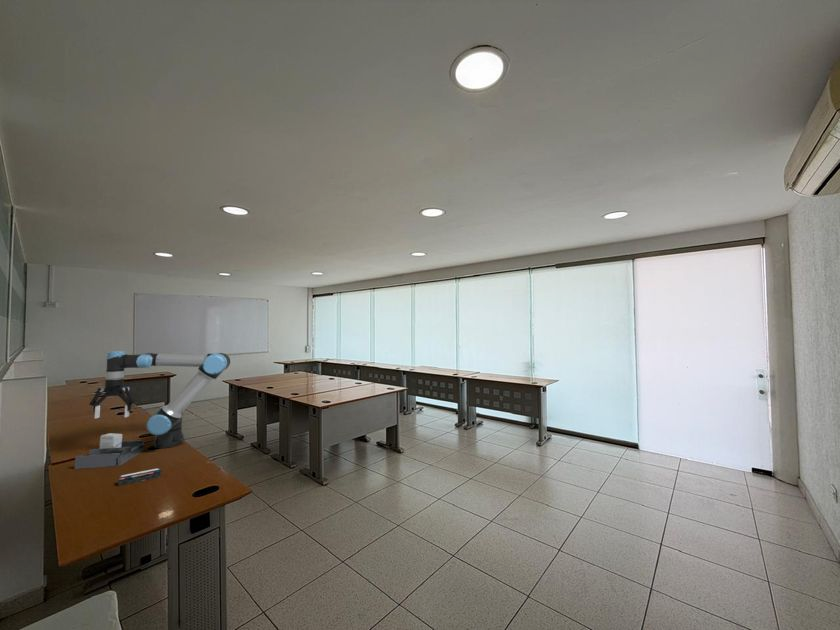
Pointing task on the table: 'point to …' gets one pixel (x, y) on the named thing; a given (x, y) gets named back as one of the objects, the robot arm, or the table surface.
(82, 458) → the rack
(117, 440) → the ink box
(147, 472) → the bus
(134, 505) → the table surface
